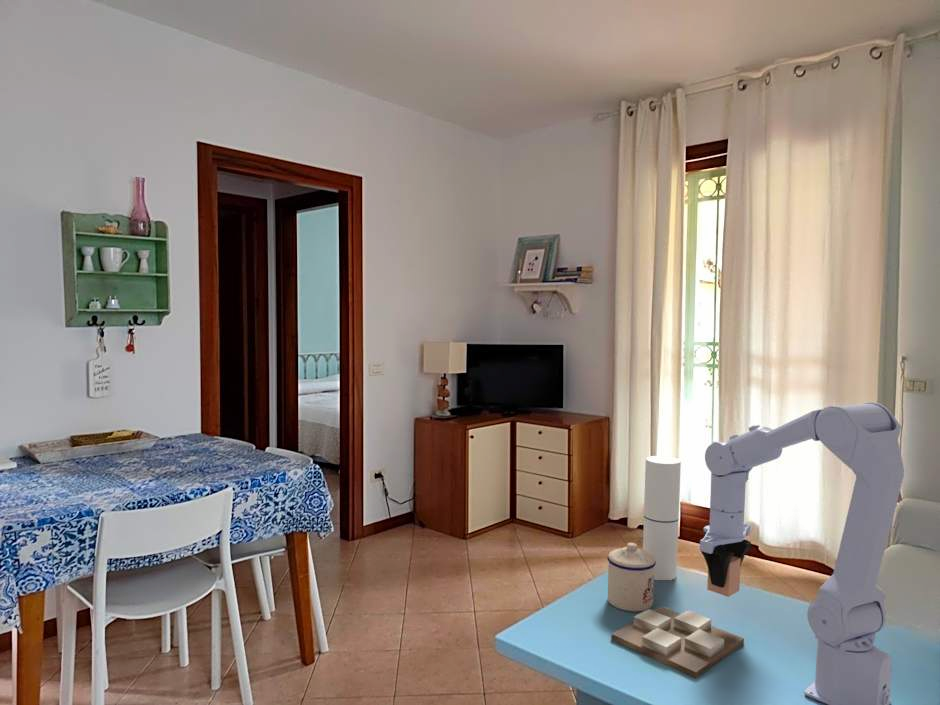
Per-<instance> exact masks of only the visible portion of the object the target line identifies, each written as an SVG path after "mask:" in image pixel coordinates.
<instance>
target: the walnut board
mask: <svg viewBox="0 0 940 705" xmlns="http://www.w3.org/2000/svg"><path fill="white" fill-rule="evenodd" d="M610 639H611V640H612V641H614V642H616V643H618V644H621V645H623V646H625V647H626V648H630V649H631V650H633V651H635V652H638V653H640V654H642V655H644V656H646V657H649V658H650V659H653V660H655V661H657V662H659V663H661V664H663V665H666V666H668V667H670V668H672V669H674V670H677V671H679V672H681V673H683V674H686V675H687V676H690V677H692V678H694V679H697V678H699V677H700V676H702V675H703V674H704V673H706V672H707V671H708V670H710V669H711V668H712V667H714V666H716V665H717V664H718V663H719V662H721V661H722V660H723V659H725V658H727V656H729V655H731V654H733V653H734V652H735V651H736V650H737V649H739V648H740V647H742V646H743V645H744V644H745V638H744V637H741V636H739V635H737V634H734V633H732V632H729V631H727V630H723V629H721V628H719V627H716V626H713V625H712V619H711V618H709V617H706V616H704V615H701V614H698V613H696V612H693V611H691V610H686V611H683V613H681V612H678V611H675V610H672V609H670V608H667V607H665V606H663V605H662V606H660V607H658V608H656V609H654V610H652V609H651V608H649V609H647V610H644V611H641V612H640V613H637V614H636V615H635V616H634V617H633V621H632V622H630V623H628V624H627V625H625V626H624V627H621V628H619V629H618V630H616V631H614V632H612V633H611V638H610Z"/></svg>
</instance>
